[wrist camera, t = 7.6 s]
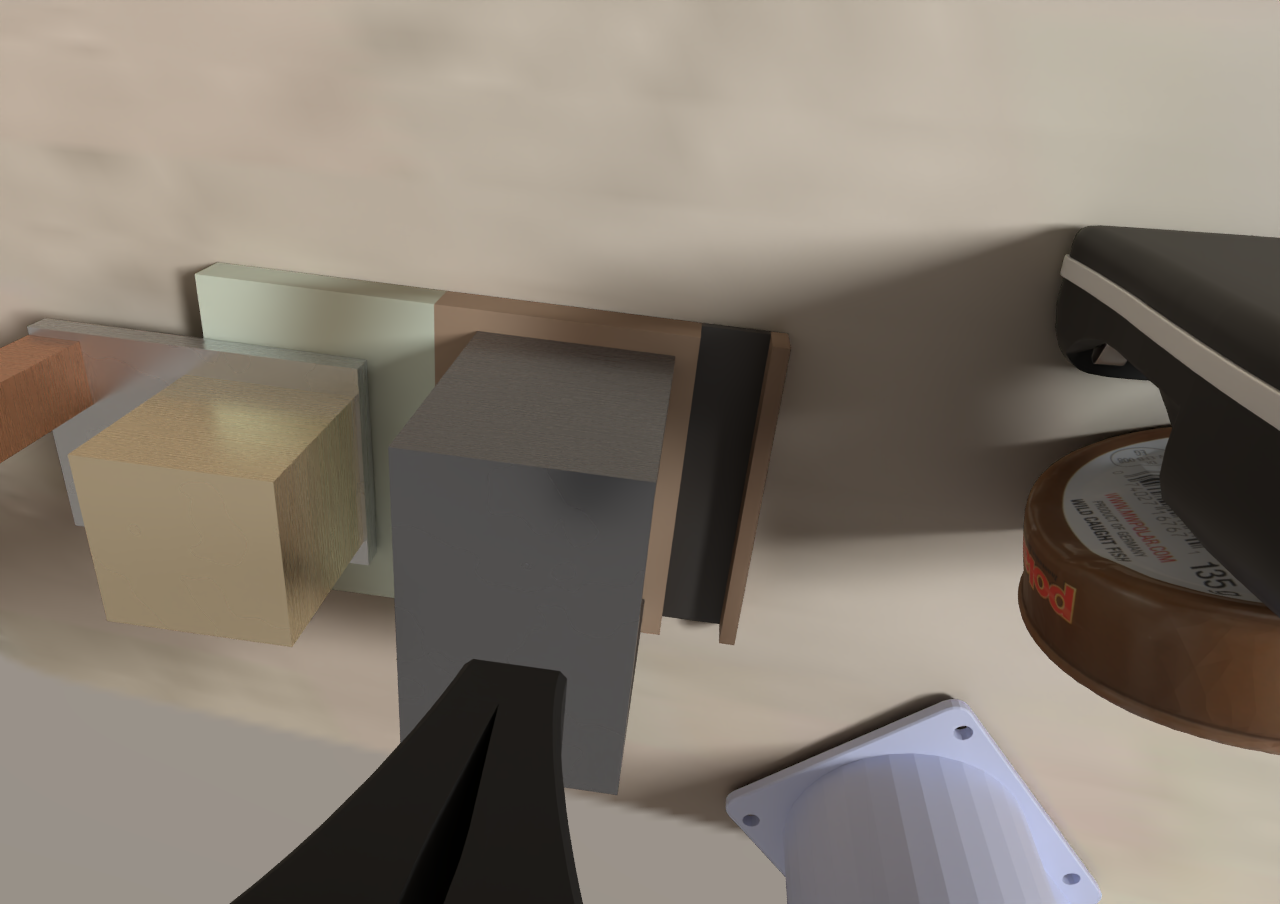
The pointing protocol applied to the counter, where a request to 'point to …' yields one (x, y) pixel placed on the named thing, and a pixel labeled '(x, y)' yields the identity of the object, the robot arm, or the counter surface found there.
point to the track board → (446, 322)
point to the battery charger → (1193, 372)
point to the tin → (1145, 599)
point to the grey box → (530, 529)
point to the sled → (201, 470)
